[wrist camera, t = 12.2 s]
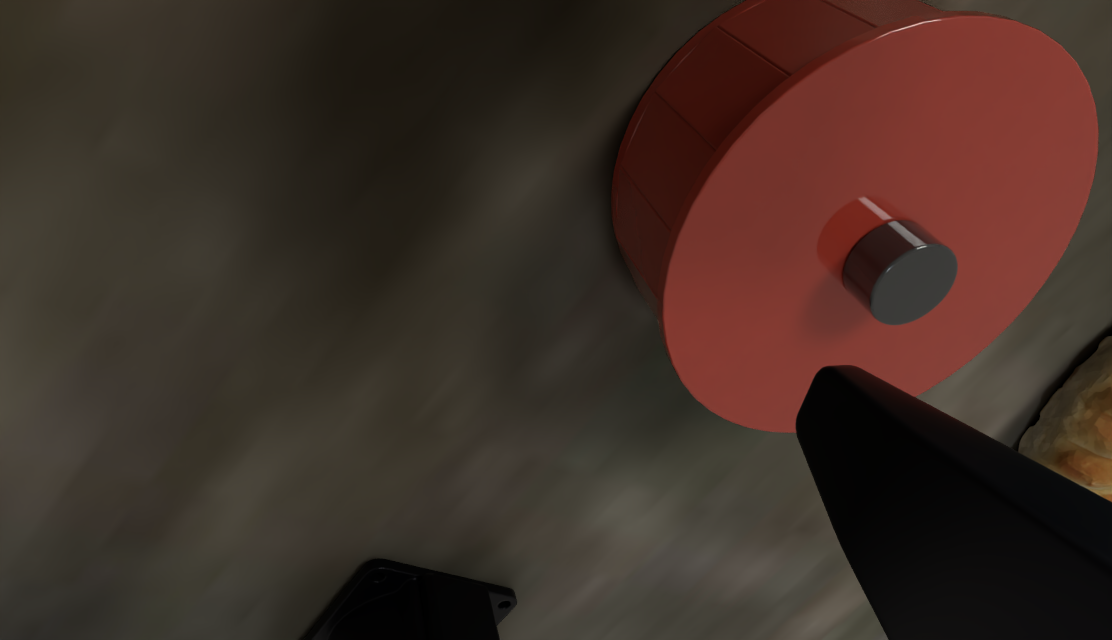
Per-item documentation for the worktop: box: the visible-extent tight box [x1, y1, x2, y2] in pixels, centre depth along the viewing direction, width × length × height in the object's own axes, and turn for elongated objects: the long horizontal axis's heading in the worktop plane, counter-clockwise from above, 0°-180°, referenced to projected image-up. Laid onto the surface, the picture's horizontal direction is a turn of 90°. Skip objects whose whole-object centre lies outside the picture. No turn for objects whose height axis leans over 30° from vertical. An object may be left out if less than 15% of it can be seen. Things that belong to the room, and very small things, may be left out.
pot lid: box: [657, 11, 1099, 433], centre depth 19 cm, size 11×11×2 cm
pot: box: [611, 0, 944, 320], centre depth 21 cm, size 10×10×4 cm
